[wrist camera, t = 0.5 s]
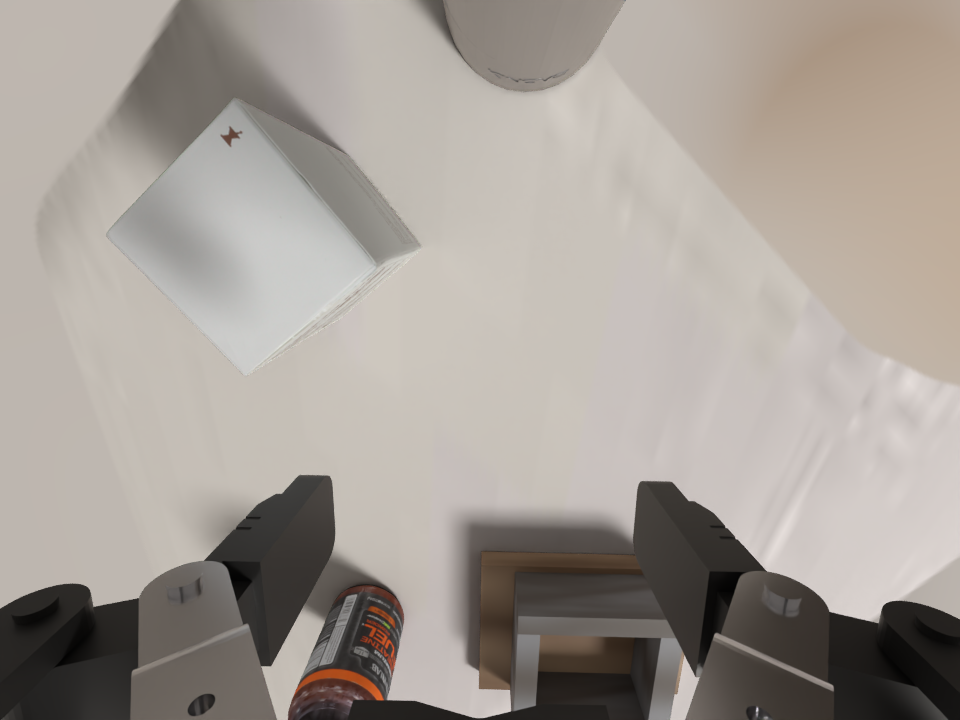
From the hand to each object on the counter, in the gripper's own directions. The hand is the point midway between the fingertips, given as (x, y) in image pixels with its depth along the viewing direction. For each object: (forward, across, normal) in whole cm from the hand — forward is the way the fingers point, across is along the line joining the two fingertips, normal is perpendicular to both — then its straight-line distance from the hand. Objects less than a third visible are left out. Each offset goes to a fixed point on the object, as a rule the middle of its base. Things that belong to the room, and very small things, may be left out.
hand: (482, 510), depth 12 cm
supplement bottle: (+21, +9, +21) cm, 31 cm away
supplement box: (+19, +9, -8) cm, 22 cm away
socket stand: (+21, -8, +21) cm, 31 cm away
